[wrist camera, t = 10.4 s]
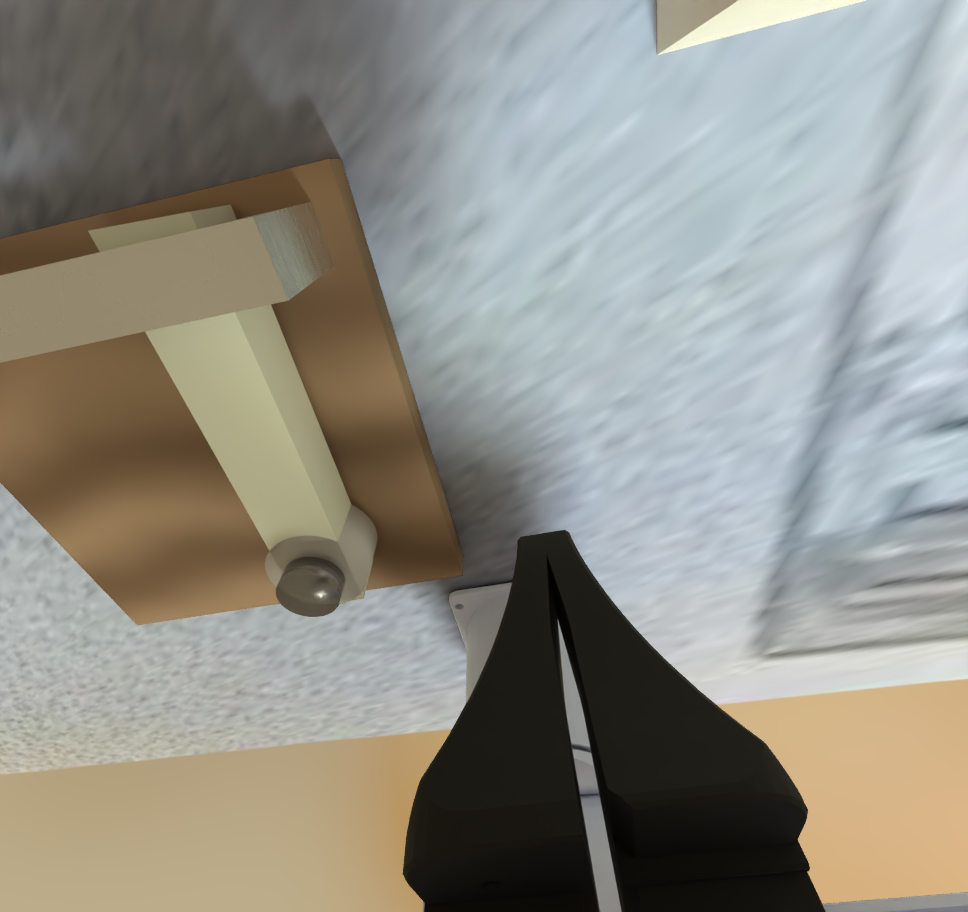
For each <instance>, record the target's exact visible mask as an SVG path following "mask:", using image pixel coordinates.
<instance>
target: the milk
mask: <svg viewBox="0 0 968 912" xmlns="http://www.w3.org/2000/svg"><path fill="white" fill-rule="evenodd" d="M862 1H866V0H657V55H659V54H663V53H667V52H671V51H675V50H678V49H682V48H686V47H690V46H694V45H698V44H701V43H705V42H709V41H713V40H717V39H721V38H724V37H728V36H732V35H736V34H740V33H744V32H747V31H751V30H755V29H759V28H763V27H766V26H770V25H774V24H778V23H782V22H786V21H789V20H793V19H797V18H801V17H805V16H809V15H812V14H816V13H820V12H824V11H828V10H832V9H835V8H839V7H843V6H847V5H851V4H855V3H858V2H862Z"/></svg>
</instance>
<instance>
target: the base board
mask: <svg viewBox="0 0 968 912" xmlns="http://www.w3.org/2000/svg"><path fill="white" fill-rule="evenodd" d="M309 202H312V205H313V207H314V210H315V213H316V216H317V219H318V222H319V224H320V227H321V230H322V233H323V236H324V239H325V241H326V244H327V247H328V250H329V253H330V256H331V258H332V261H333V264H334V267H332V268H331V269H330V270H328V271H327V272H326V273H324V274H323V275H322V276H320V277H319V278H318V279H316V280H315V281H314V282H312V283H311V284H310V285H308V286H307V287H306V288H304V289H303V290H302V291H300V292H299V293H298V294H296V295H295V296H294V297H292V298H291V299H290V300H288V301H284V302H280V303H275V304H271V306H272V308H273V311H274V313H275V316H276V318H277V321H278V323H279V326H280V328H281V331H282V333H283V336H284V338H285V341H286V343H287V346H288V348H289V351H290V353H291V356H292V358H293V361H294V363H295V366H296V368H297V371H298V373H299V375H300V378H301V380H302V383H303V385H304V388H305V390H306V393H307V395H308V398H309V400H310V403H311V405H312V408H313V410H314V413H315V415H316V418H317V420H318V423H319V425H320V428H321V430H322V433H323V435H324V438H325V440H326V443H327V445H328V448H329V450H330V453H331V455H332V457H333V460H334V462H335V465H336V467H337V470H338V472H339V475H340V477H341V480H342V482H343V485H344V487H345V490H346V492H347V495H348V497H349V500H350V502H351V504H352V505H354V506H356V507H357V508H359V509H360V510H362V511H363V512H364V513H365V514H366V515H367V516H368V517H369V518H370V519H371V520H372V522H373V523H374V525H375V528H376V531H377V544H376V548H375V552H374V556H373V563H372V567H371V571H370V575H369V579H368V583H367V587H366V590H371V589H378V588H384V587H391V586H398V585H404V584H411V583H417V582H424V581H430V580H437V579H443V578H450V577H456V576H463V553H462V550H461V547H460V543H459V540H458V537H457V534H456V530H455V527H454V524H453V521H452V517H451V514H450V511H449V508H448V504H447V501H446V498H445V495H444V491H443V488H442V485H441V482H440V478H439V475H438V472H437V469H436V465H435V462H434V459H433V456H432V452H431V449H430V446H429V443H428V439H427V436H426V433H425V430H424V426H423V423H422V420H421V417H420V414H419V410H418V407H417V404H416V401H415V397H414V394H413V391H412V388H411V384H410V381H409V378H408V375H407V371H406V368H405V365H404V362H403V358H402V355H401V352H400V349H399V345H398V342H397V339H396V336H395V332H394V329H393V326H392V323H391V319H390V316H389V313H388V310H387V306H386V303H385V300H384V297H383V293H382V290H381V287H380V284H379V280H378V277H377V274H376V271H375V267H374V264H373V261H372V258H371V255H370V251H369V248H368V245H367V242H366V238H365V235H364V232H363V229H362V225H361V222H360V219H359V216H358V212H357V209H356V206H355V203H354V199H353V196H352V193H351V190H350V186H349V183H348V180H347V177H346V173H345V170H344V167H343V164H342V160H341V159H326V160H322V161H318V162H313V163H309V164H305V165H301V166H297V167H293V168H289V169H285V170H281V171H276V172H272V173H268V174H264V175H260V176H256V177H252V178H248V179H243V180H239V181H235V182H231V183H227V184H223V185H219V186H215V187H210V188H206V189H202V190H198V191H194V192H190V193H186V194H182V195H177V196H173V197H169V198H165V199H161V200H157V201H153V202H149V203H145V204H140V205H136V206H132V207H128V208H124V209H120V210H116V211H112V212H107V213H103V214H99V215H95V216H91V217H87V218H83V219H79V220H74V221H70V222H66V223H62V224H58V225H54V226H50V227H46V228H41V229H37V230H33V231H29V232H25V233H21V234H17V235H13V236H8V237H4V238H0V275H4V274H8V273H13V272H17V271H21V270H26V269H30V268H34V267H38V266H43V265H47V264H51V263H55V262H60V261H64V260H68V259H72V258H77V257H81V256H85V255H89V254H94V253H98V252H100V251H99V250H98V248H97V246H96V244H95V243H94V241H93V239H92V237H91V236H90V234H89V232H88V231H89V230H95V229H100V228H105V227H111V226H116V225H121V224H127V223H132V222H137V221H143V220H148V219H154V218H159V217H164V216H170V215H175V214H180V213H186V212H191V211H197V210H202V209H208V208H214V207H219V206H225V205H230V204H231V206H232V209H233V211H234V214H235V216H236V219H241V218H245V217H249V216H253V215H257V214H262V213H266V212H270V211H274V210H279V209H283V208H287V207H291V206H296V205H300V204H304V203H309ZM0 483H1V484H2V485H3V486H4V487H5V488H6V489H7V490H8V491H9V492H10V493H11V494H12V495H13V496H14V497H15V498H16V499H17V500H18V501H19V502H20V503H21V504H22V505H23V507H24V508H25V509H26V510H27V511H28V512H29V513H30V514H31V515H32V516H33V517H34V518H35V519H36V520H37V521H38V522H39V523H40V524H41V525H42V526H43V527H44V528H45V529H46V531H47V532H48V533H49V534H50V535H51V536H52V537H53V538H54V539H55V540H56V541H57V542H58V543H59V544H60V545H61V546H62V547H63V548H64V549H65V550H66V551H67V552H68V553H69V555H70V556H71V557H72V558H73V559H74V560H75V561H76V562H77V563H78V564H79V565H80V566H81V567H82V568H83V569H84V570H85V571H86V572H87V573H88V574H89V575H90V576H91V577H92V579H93V580H94V581H95V582H96V583H97V584H98V585H99V586H100V587H101V588H102V589H103V590H104V591H105V592H106V593H107V594H108V595H109V596H110V597H111V598H112V599H113V600H114V601H115V603H116V604H117V605H118V606H119V607H120V608H121V609H122V610H123V611H124V612H125V613H126V614H127V615H128V616H129V617H130V618H131V619H132V620H133V621H134V622H135V623H136V624H137V625H142V624H149V623H155V622H162V621H169V620H175V619H182V618H188V617H195V616H201V615H208V614H214V613H221V612H227V611H234V610H240V609H247V608H254V607H260V606H267V605H273V604H280V602H279V601H278V599H277V597H276V587H275V586H274V585H273V584H272V582H271V581H270V579H269V578H268V576H267V573H266V570H265V560H266V556H267V554H268V552H269V549H268V547H267V546H266V544H265V542H264V540H263V539H262V537H261V535H260V533H259V532H258V530H257V528H256V526H255V525H254V523H253V521H252V519H251V518H250V516H249V514H248V512H247V510H246V509H245V507H244V505H243V503H242V502H241V500H240V498H239V496H238V495H237V493H236V491H235V489H234V488H233V486H232V484H231V482H230V481H229V479H228V477H227V475H226V473H225V472H224V470H223V468H222V466H221V465H220V463H219V461H218V459H217V458H216V456H215V454H214V452H213V451H212V449H211V447H210V445H209V444H208V442H207V440H206V438H205V436H204V435H203V433H202V431H201V429H200V428H199V426H198V424H197V422H196V421H195V419H194V417H193V415H192V414H191V412H190V410H189V408H188V407H187V405H186V403H185V401H184V399H183V398H182V396H181V394H180V392H179V391H178V389H177V387H176V385H175V384H174V382H173V380H172V378H171V377H170V375H169V373H168V371H167V369H166V368H165V366H164V364H163V362H162V361H161V359H160V357H159V355H158V354H157V352H156V350H155V348H154V347H153V345H152V343H151V341H150V340H149V338H148V336H147V334H146V332H140V333H136V334H131V335H126V336H122V337H117V338H112V339H108V340H103V341H99V342H94V343H89V344H85V345H80V346H75V347H71V348H66V349H61V350H57V351H52V352H47V353H43V354H38V355H34V356H29V357H24V358H20V359H15V360H10V361H6V362H1V363H0Z"/></svg>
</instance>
